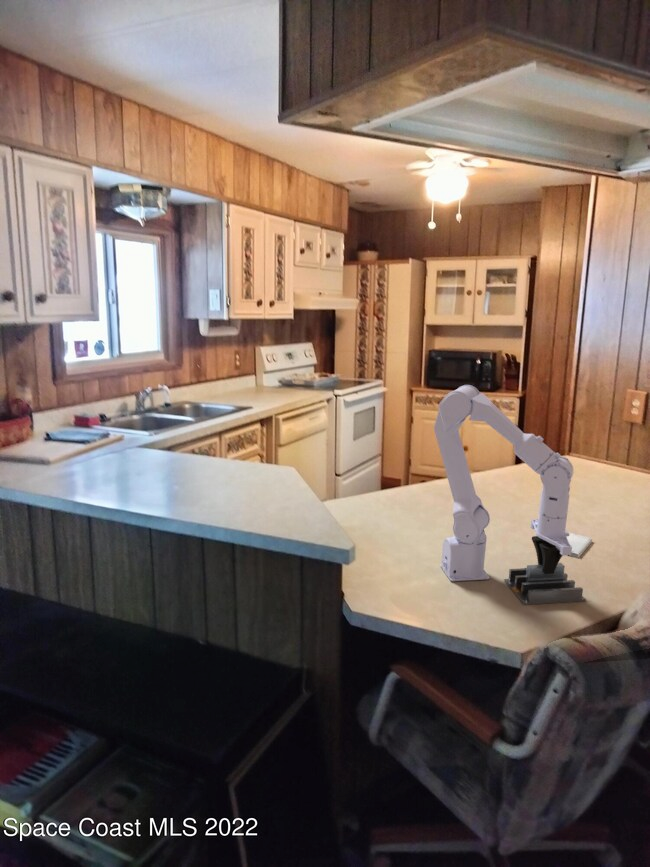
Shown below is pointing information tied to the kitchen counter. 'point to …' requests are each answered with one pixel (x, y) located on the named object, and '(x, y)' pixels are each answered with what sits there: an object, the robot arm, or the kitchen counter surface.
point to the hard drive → (578, 544)
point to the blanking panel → (537, 574)
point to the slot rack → (543, 589)
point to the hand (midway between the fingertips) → (546, 570)
